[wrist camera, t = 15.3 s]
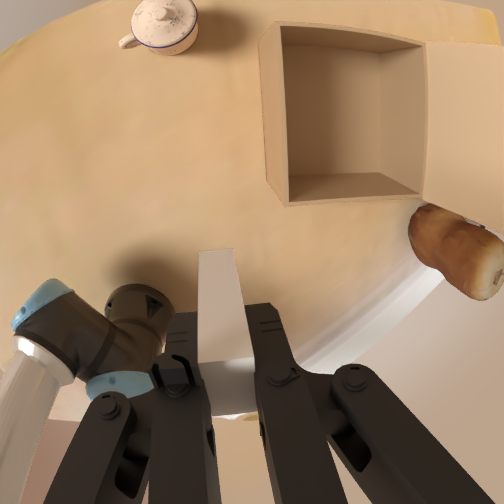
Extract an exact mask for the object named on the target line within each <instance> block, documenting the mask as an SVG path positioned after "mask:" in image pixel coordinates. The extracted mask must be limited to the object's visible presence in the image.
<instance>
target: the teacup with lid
mask: <svg viewBox="0 0 504 504" xmlns="http://www.w3.org/2000/svg"><path fill="white" fill-rule="evenodd" d="M131 29H132V33H130V34H128V35H127V36H125V37H123V38H122V39H121V40H120V41H119V45H120V48H122V49H130V48H134V47H137V46H139V45H141V44H143V45H145V46H147V47H149V48H150V49H151V50H152V51H154V52H155V53H157V54H161V55H175V54H179V53H181V52H183V51H185V50H186V49H188V48H189V47H190V46H191V45H192V44H193V43H194V41H195V39H196V37H197V34H198V24H197V9H196V7H195V5H194V3H193V2H192V1H191V0H144V1H143V2H142V3H141V4H140V5H139V6H138V7H137V8H136V10H135V12H134V14H133V17H132V21H131ZM135 39H136V40H135Z"/></svg>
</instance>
